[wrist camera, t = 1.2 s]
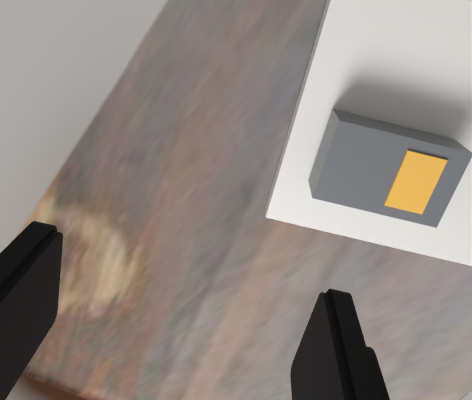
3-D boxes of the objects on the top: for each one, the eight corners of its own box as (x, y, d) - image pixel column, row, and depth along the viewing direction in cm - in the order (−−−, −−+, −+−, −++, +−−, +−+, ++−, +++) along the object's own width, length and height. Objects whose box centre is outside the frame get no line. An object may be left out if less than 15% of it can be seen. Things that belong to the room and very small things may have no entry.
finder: (332, 108, 27) (339, 121, 25) (454, 138, 28) (474, 154, 25) (308, 180, 30) (312, 199, 27) (422, 208, 30) (437, 229, 27)
